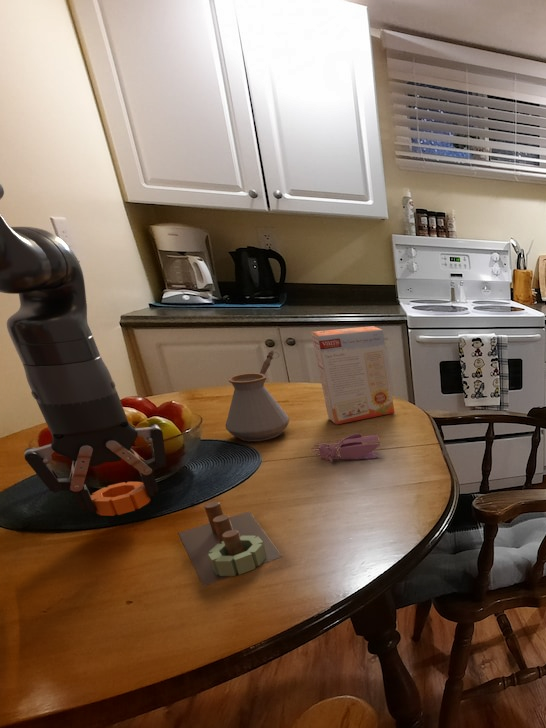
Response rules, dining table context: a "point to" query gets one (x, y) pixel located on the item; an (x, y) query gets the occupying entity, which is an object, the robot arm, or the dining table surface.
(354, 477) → the dining table surface
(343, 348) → the cracker box
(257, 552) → the green ring
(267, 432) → the coffee pot
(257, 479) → the dining table surface
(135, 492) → the orange grooved ring
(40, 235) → the robot arm
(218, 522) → the rack
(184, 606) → the dining table surface
